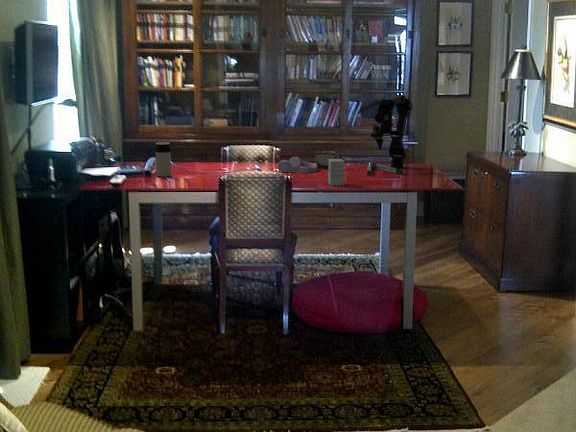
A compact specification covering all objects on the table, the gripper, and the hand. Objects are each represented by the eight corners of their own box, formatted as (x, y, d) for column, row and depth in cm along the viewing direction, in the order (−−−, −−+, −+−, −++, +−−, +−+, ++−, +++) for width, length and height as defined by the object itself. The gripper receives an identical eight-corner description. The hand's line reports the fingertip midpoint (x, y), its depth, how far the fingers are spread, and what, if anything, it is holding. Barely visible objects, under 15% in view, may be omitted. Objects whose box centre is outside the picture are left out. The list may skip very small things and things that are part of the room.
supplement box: (327, 183, 410) (328, 159, 408) (342, 183, 411) (342, 158, 409) (329, 185, 403) (330, 160, 401) (344, 185, 404) (344, 160, 401)
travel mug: (168, 177, 429) (167, 143, 425) (154, 176, 430) (153, 143, 427) (173, 175, 437) (172, 142, 433) (159, 174, 438) (158, 141, 435)
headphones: (275, 172, 449) (309, 176, 442) (276, 159, 447) (310, 164, 440) (290, 167, 469) (322, 171, 462) (291, 155, 468) (323, 159, 461)
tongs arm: (375, 168, 461) (375, 164, 460) (378, 168, 462) (378, 164, 461) (400, 174, 440) (400, 169, 440) (403, 173, 441) (403, 169, 441)
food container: (336, 167, 466) (336, 150, 464) (335, 169, 460) (336, 152, 458) (315, 167, 467) (315, 150, 465) (314, 169, 461) (314, 151, 459)
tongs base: (367, 168, 465) (367, 162, 464) (375, 168, 465) (375, 162, 464) (367, 175, 438) (367, 168, 437) (375, 175, 437) (375, 169, 436)
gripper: (390, 119, 459) (389, 146, 462) (364, 121, 449) (364, 149, 452) (403, 121, 450) (402, 148, 453) (377, 123, 440) (377, 151, 443)
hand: (386, 149), depth 451 cm, fingers open, 9 cm apart
